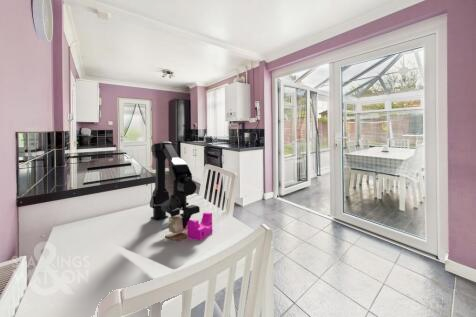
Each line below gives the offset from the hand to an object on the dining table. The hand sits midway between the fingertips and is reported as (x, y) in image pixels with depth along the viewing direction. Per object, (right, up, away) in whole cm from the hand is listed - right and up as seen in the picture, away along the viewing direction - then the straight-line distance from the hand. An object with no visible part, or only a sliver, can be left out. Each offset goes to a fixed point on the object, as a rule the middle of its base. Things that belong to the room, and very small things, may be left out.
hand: (180, 227), depth 92 cm
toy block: (+10, -4, +2) cm, 11 cm away
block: (0, -1, 0) cm, 1 cm away
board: (0, -4, 0) cm, 4 cm away
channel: (-5, -4, +10) cm, 12 cm away
